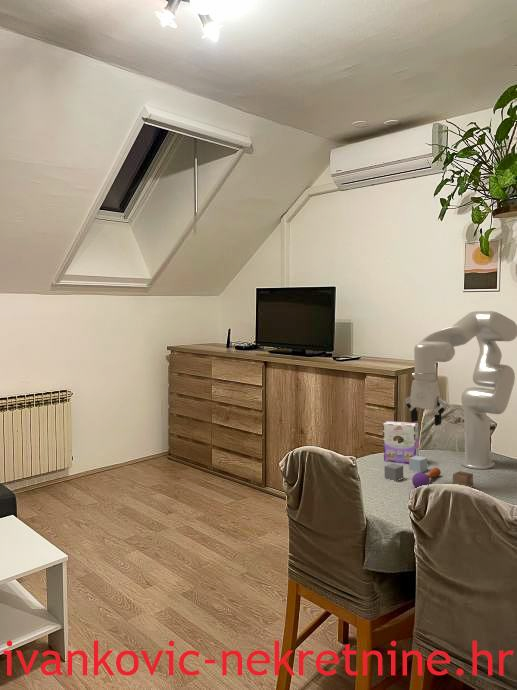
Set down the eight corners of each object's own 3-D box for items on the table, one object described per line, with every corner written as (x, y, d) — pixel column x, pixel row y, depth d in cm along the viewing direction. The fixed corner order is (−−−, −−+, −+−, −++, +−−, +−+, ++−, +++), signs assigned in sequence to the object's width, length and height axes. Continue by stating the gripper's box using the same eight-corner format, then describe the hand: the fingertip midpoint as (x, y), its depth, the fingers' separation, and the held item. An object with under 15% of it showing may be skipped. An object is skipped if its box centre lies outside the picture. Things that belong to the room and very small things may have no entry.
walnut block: (460, 484, 204) (460, 471, 203) (473, 487, 200) (473, 473, 200) (453, 487, 201) (452, 474, 200) (466, 490, 197) (465, 477, 196)
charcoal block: (392, 475, 217) (392, 463, 216) (403, 478, 213) (403, 465, 212) (384, 479, 213) (384, 466, 213) (395, 481, 210) (395, 468, 209)
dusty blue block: (416, 467, 226) (416, 455, 225) (427, 470, 222) (427, 457, 222) (409, 470, 222) (409, 458, 222) (420, 473, 219) (420, 460, 218)
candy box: (419, 461, 234) (418, 422, 233) (415, 464, 229) (415, 425, 228) (387, 457, 241) (386, 420, 240) (383, 461, 236) (382, 423, 235)
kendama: (445, 466, 213) (427, 477, 196) (442, 481, 213) (424, 493, 197) (430, 461, 216) (411, 472, 200) (427, 476, 217) (408, 487, 201)
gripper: (399, 376, 208) (400, 421, 209) (441, 380, 195) (441, 428, 196) (410, 374, 213) (411, 418, 214) (452, 377, 200) (452, 424, 201)
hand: (426, 423), depth 205 cm, fingers open, 9 cm apart
